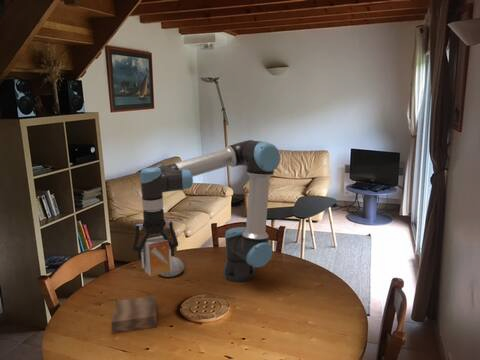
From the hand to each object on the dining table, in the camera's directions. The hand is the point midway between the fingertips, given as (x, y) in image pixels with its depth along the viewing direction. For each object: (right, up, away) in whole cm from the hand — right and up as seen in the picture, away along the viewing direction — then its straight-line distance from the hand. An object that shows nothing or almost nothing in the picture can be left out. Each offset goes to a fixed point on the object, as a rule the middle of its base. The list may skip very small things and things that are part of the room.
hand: (157, 265), depth 156 cm
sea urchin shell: (-2, -13, +43) cm, 45 cm away
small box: (0, -3, +1) cm, 3 cm away
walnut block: (-9, -22, +3) cm, 24 cm away
